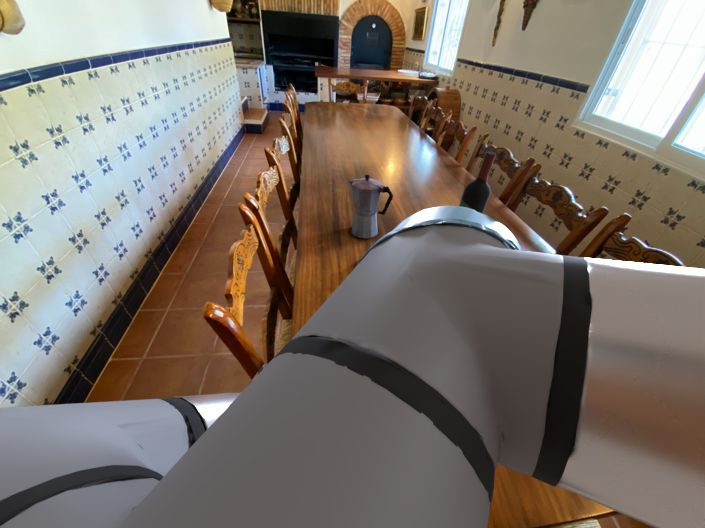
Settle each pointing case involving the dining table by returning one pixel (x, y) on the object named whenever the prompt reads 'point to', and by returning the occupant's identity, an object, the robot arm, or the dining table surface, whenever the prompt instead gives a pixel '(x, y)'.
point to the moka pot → (367, 205)
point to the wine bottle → (479, 186)
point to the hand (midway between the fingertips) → (386, 417)
